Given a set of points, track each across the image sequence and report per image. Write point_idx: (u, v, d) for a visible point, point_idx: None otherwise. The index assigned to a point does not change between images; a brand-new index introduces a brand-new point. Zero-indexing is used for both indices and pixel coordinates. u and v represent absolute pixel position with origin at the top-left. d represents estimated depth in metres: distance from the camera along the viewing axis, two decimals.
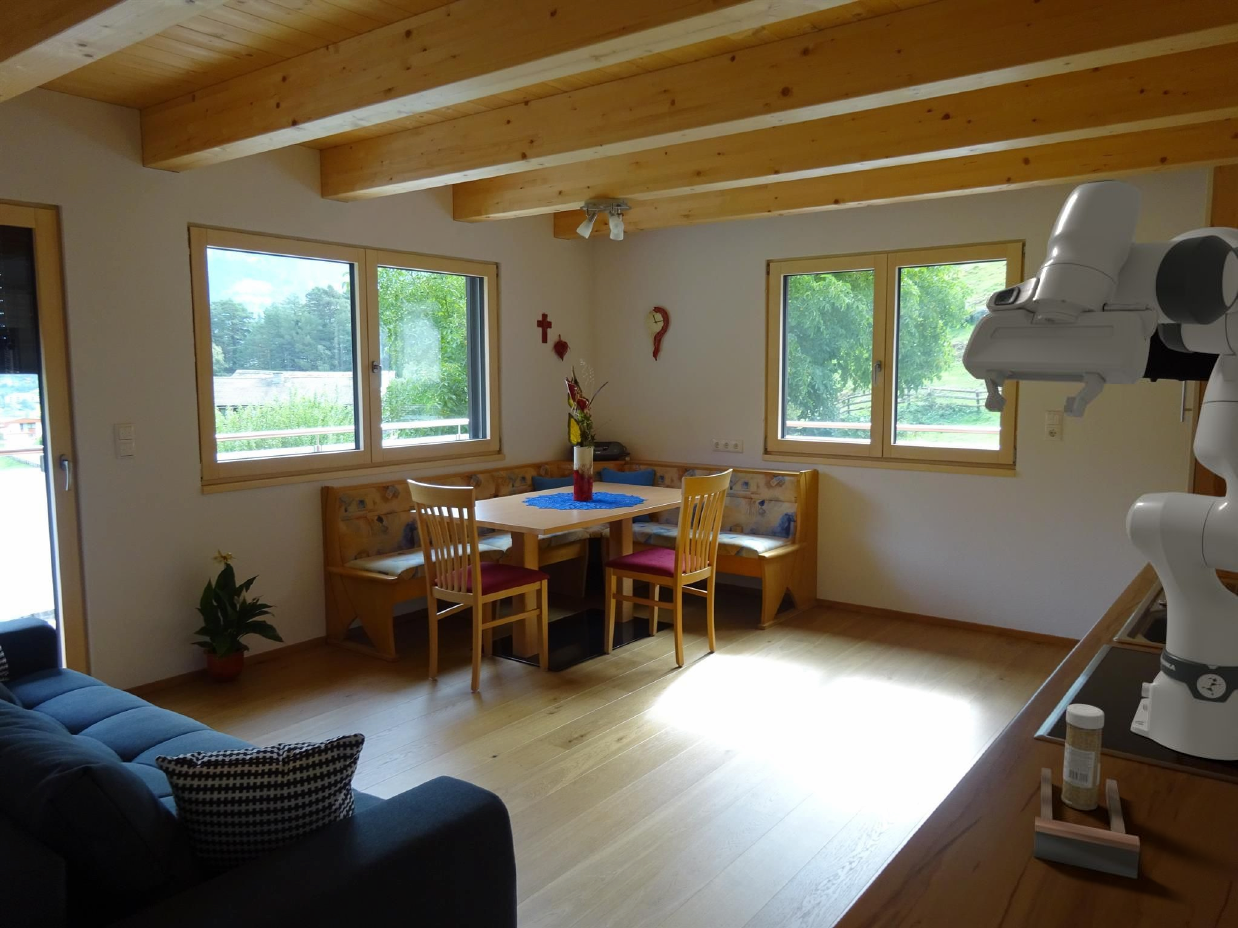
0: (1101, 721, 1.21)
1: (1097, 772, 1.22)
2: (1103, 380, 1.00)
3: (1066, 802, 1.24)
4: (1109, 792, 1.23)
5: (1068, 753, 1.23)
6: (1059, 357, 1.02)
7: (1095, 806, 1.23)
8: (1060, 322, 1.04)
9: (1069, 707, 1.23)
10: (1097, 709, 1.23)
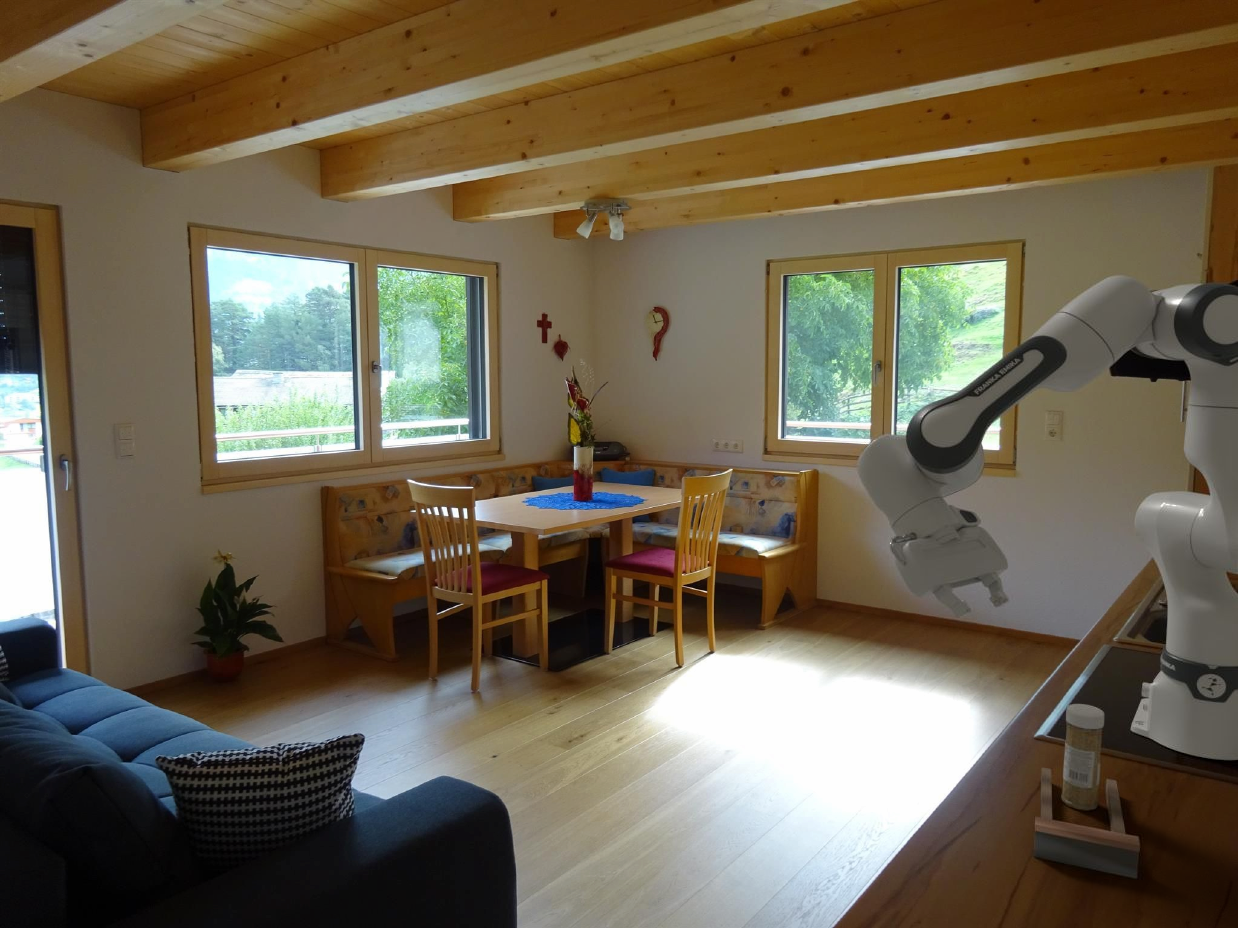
0: (1101, 721, 1.21)
1: (1097, 772, 1.22)
2: (940, 587, 1.28)
3: (1066, 802, 1.24)
4: (1109, 792, 1.23)
5: (1068, 753, 1.23)
6: None
7: (1095, 806, 1.23)
8: None
9: (1069, 707, 1.23)
10: (1097, 709, 1.23)
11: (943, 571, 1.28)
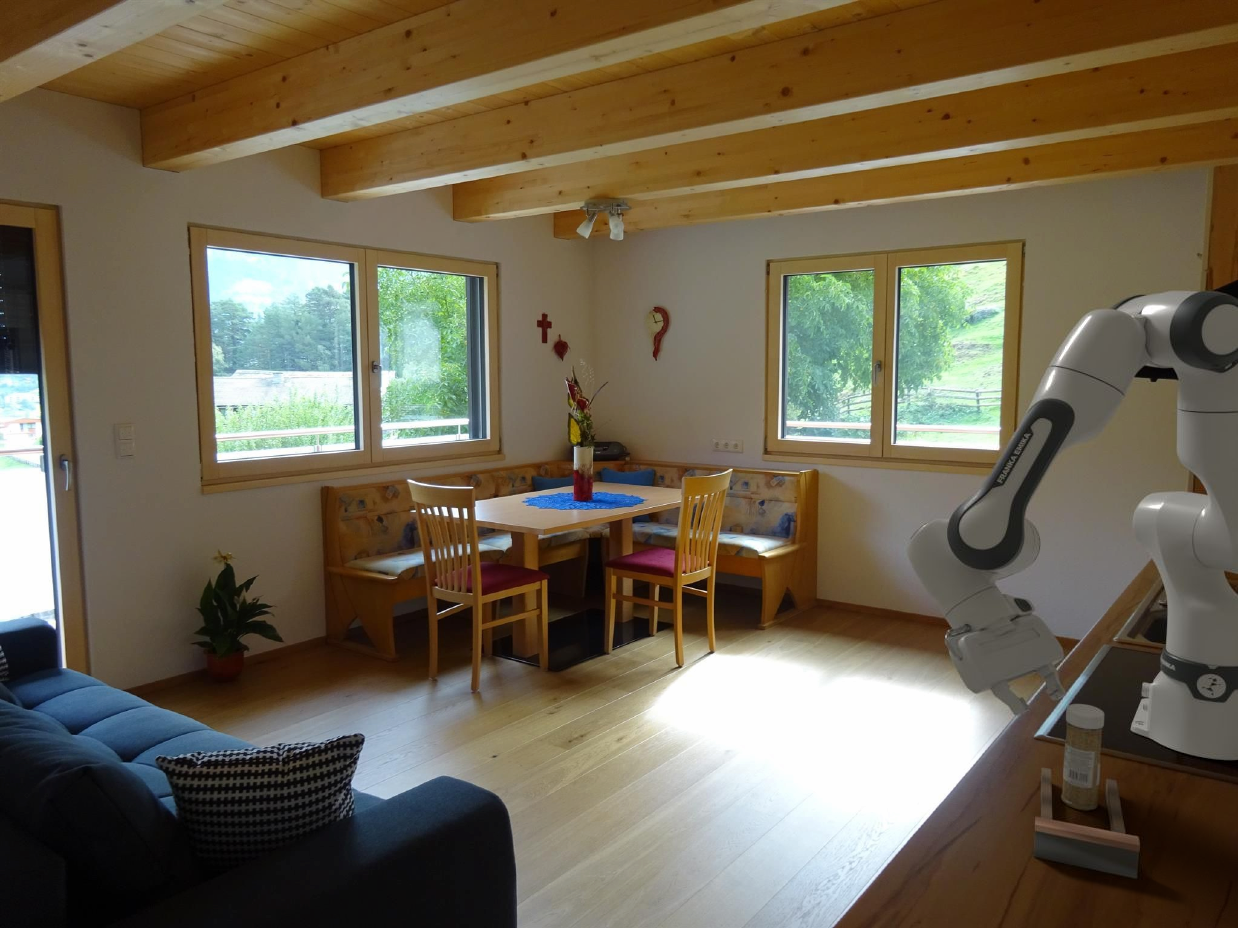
0: (1101, 721, 1.21)
1: (1097, 772, 1.22)
2: (997, 683, 1.26)
3: (1066, 802, 1.24)
4: (1109, 792, 1.23)
5: (1068, 753, 1.23)
6: None
7: (1095, 806, 1.23)
8: None
9: (1069, 707, 1.23)
10: (1097, 709, 1.23)
11: (1000, 667, 1.26)
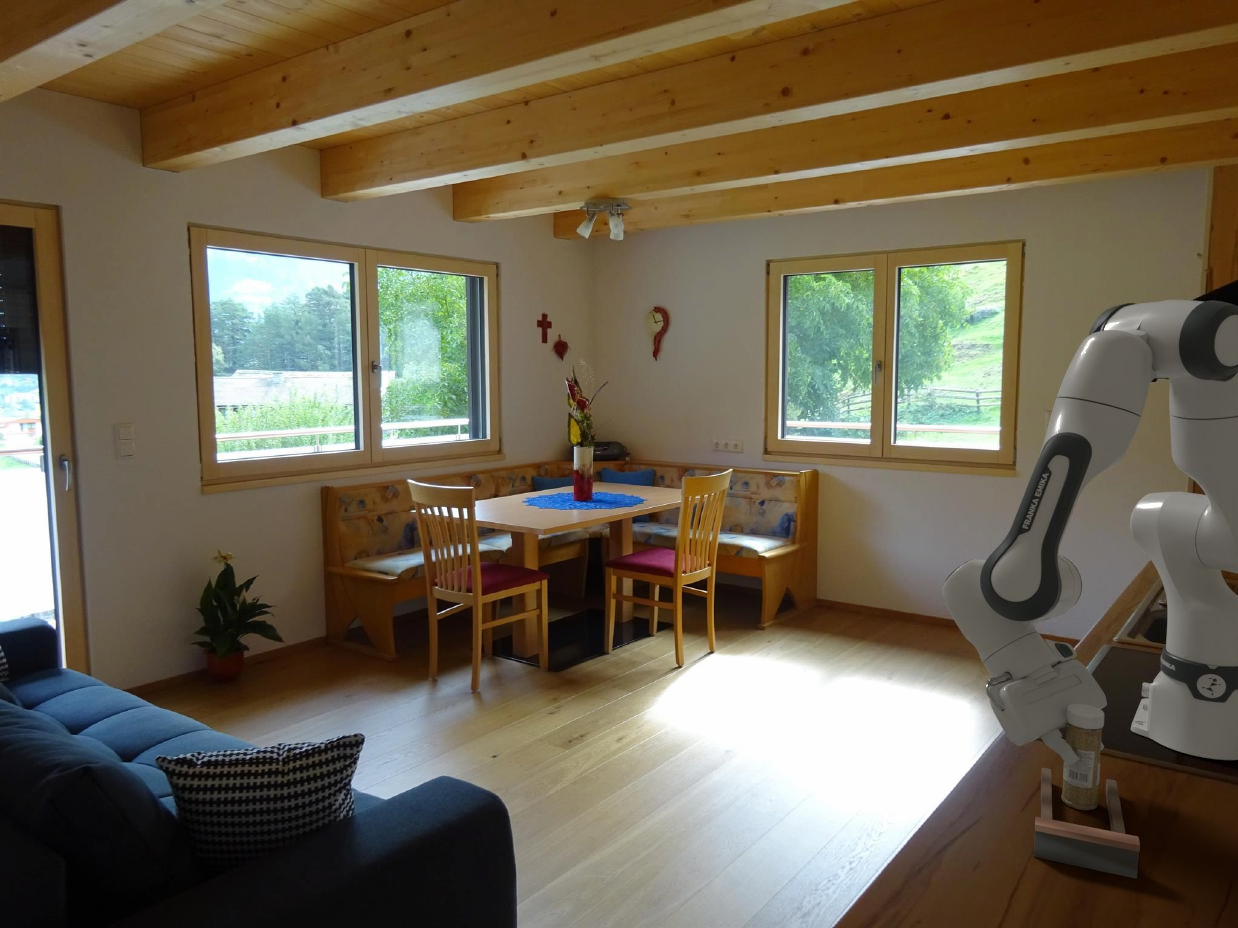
0: (1101, 721, 1.21)
1: (1097, 772, 1.22)
2: (1049, 732, 1.22)
3: (1066, 802, 1.24)
4: (1109, 792, 1.23)
5: None
6: None
7: (1095, 806, 1.23)
8: None
9: (1069, 707, 1.23)
10: (1097, 709, 1.23)
11: (1044, 718, 1.22)
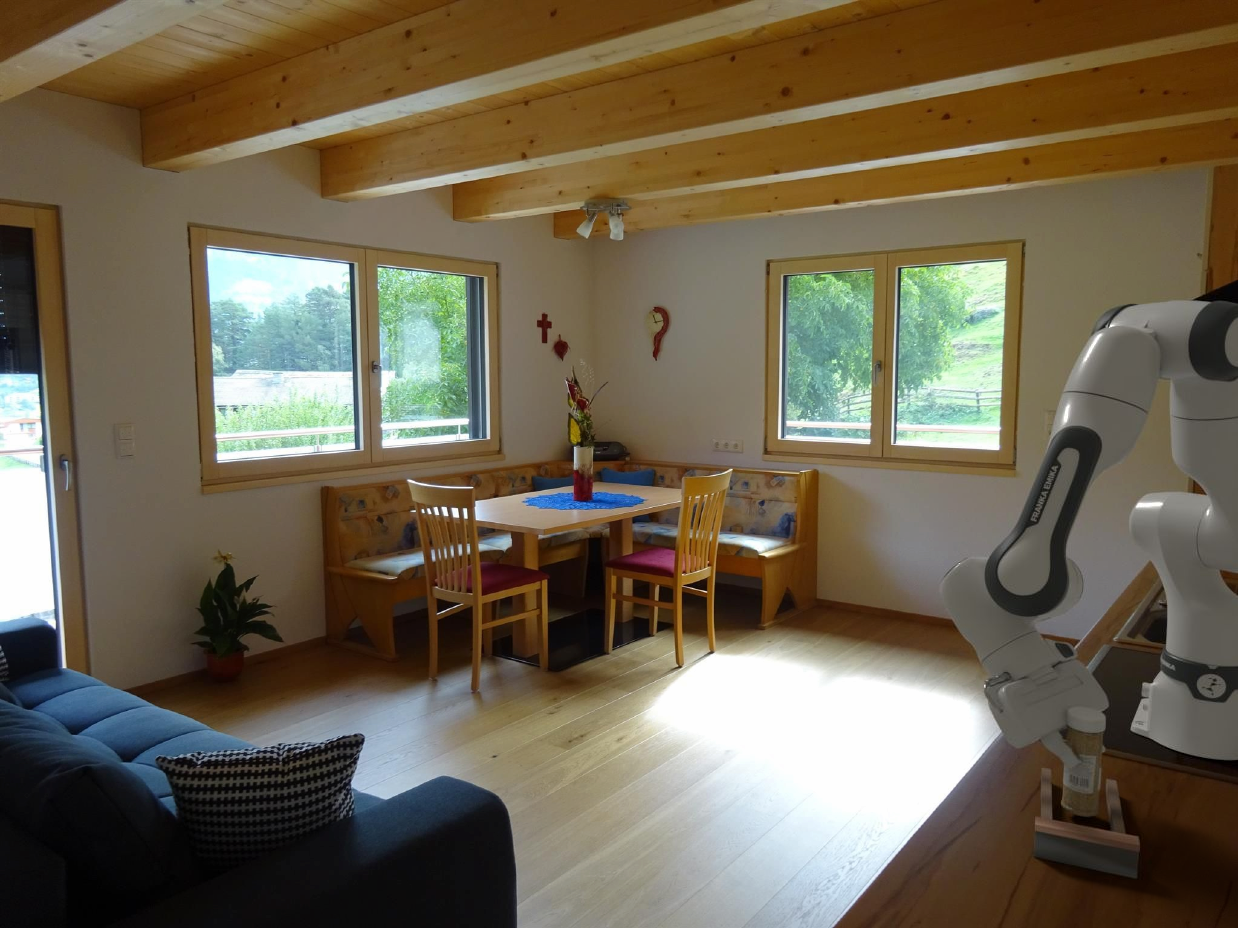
0: (1102, 724, 1.17)
1: (1098, 777, 1.18)
2: (1049, 734, 1.18)
3: (1066, 808, 1.20)
4: (1109, 792, 1.23)
5: None
6: None
7: (1096, 812, 1.19)
8: None
9: (1069, 710, 1.20)
10: (1098, 712, 1.19)
11: (1044, 720, 1.18)
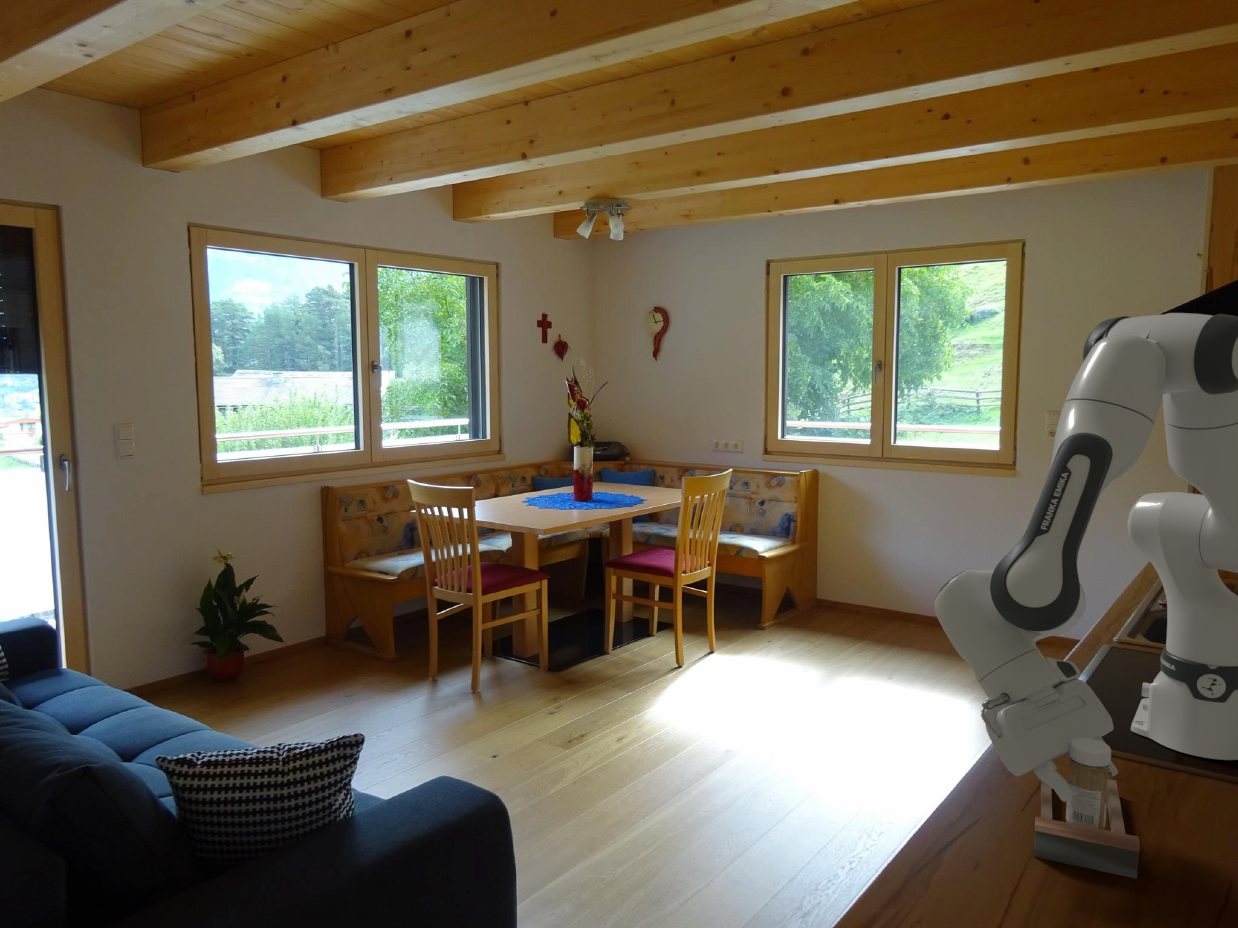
0: (1108, 757, 1.10)
1: (1103, 813, 1.11)
2: (1042, 764, 1.10)
3: None
4: (1109, 792, 1.23)
5: None
6: None
7: None
8: None
9: (1072, 742, 1.13)
10: (1103, 744, 1.12)
11: (1045, 746, 1.11)
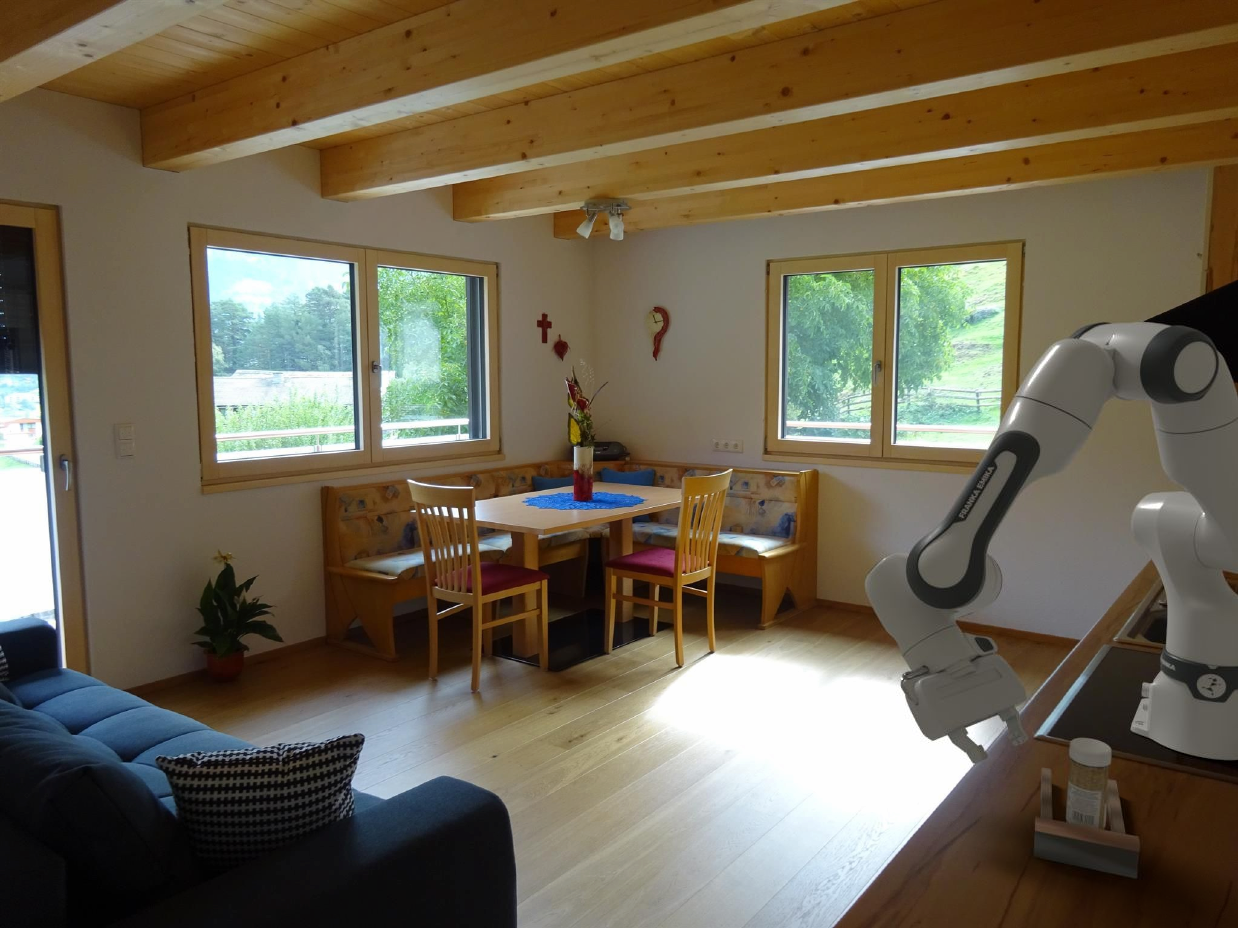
0: (1108, 757, 1.10)
1: (1104, 813, 1.11)
2: (955, 729, 1.20)
3: None
4: (1109, 792, 1.23)
5: (1071, 793, 1.12)
6: None
7: None
8: None
9: (1073, 742, 1.13)
10: (1103, 744, 1.12)
11: (958, 713, 1.20)
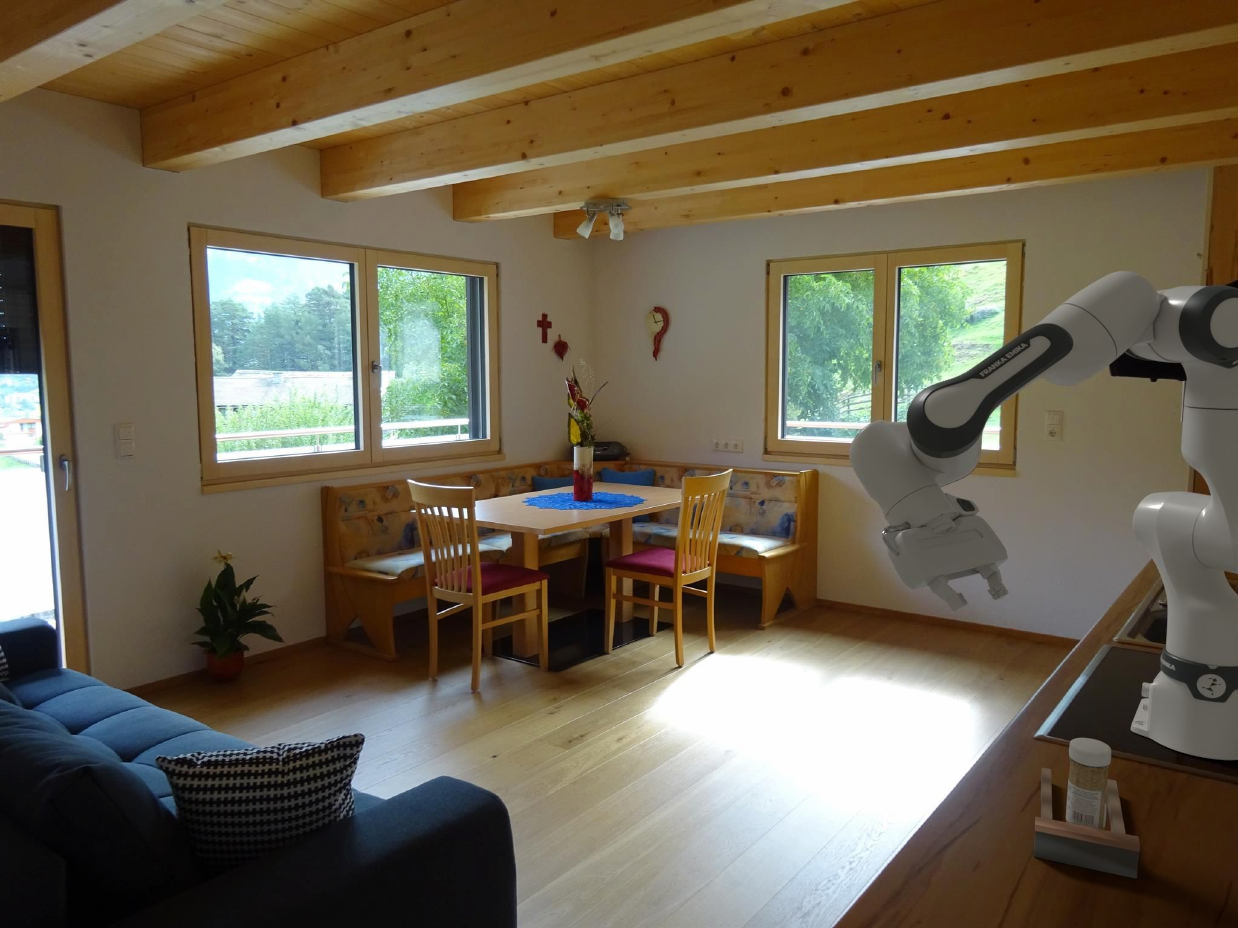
0: (1108, 757, 1.10)
1: (1104, 813, 1.11)
2: (935, 578, 1.22)
3: None
4: (1109, 792, 1.23)
5: (1071, 793, 1.12)
6: None
7: None
8: None
9: (1072, 742, 1.13)
10: (1103, 744, 1.12)
11: (938, 562, 1.22)
